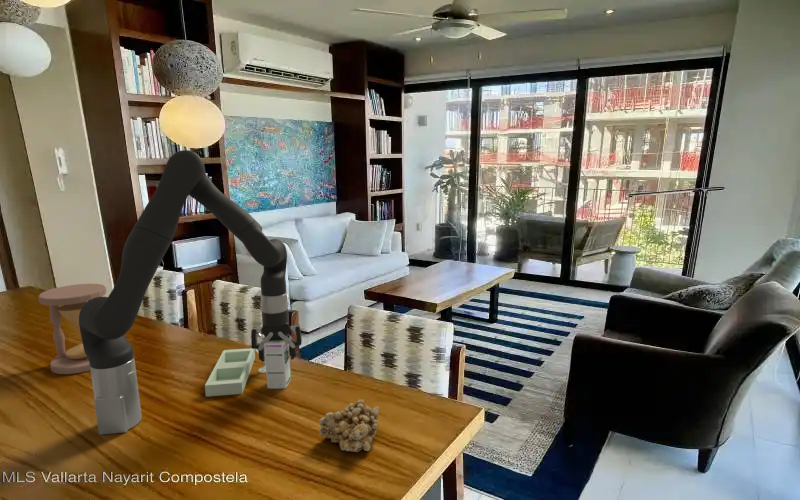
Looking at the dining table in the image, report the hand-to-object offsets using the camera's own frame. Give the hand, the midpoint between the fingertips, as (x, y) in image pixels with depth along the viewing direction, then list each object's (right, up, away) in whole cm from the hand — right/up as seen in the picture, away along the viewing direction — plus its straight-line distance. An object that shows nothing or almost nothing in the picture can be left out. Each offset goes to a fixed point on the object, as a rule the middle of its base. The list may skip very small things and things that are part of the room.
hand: (278, 359), depth 129 cm
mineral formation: (+26, -13, -24) cm, 38 cm away
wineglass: (-7, -6, +10) cm, 14 cm away
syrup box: (0, -8, +1) cm, 8 cm away
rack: (-16, -7, +7) cm, 19 cm away
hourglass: (-69, -5, +15) cm, 71 cm away
